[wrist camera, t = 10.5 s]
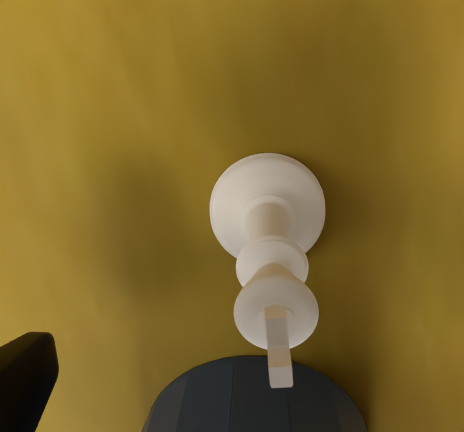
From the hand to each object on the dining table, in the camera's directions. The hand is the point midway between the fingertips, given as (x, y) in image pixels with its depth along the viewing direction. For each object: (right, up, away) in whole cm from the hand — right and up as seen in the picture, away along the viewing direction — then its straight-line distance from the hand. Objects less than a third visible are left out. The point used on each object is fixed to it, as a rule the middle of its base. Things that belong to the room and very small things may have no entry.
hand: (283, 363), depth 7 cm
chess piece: (0, +3, +10) cm, 10 cm away
